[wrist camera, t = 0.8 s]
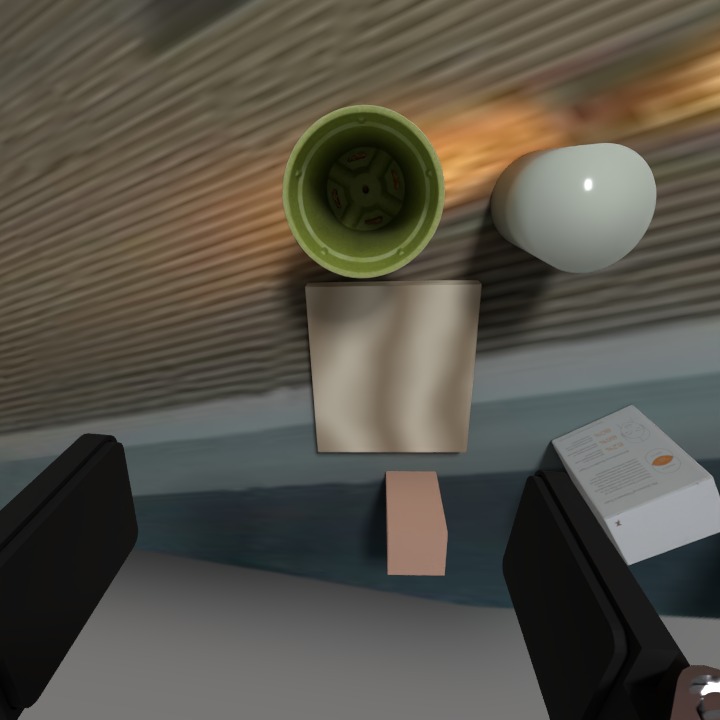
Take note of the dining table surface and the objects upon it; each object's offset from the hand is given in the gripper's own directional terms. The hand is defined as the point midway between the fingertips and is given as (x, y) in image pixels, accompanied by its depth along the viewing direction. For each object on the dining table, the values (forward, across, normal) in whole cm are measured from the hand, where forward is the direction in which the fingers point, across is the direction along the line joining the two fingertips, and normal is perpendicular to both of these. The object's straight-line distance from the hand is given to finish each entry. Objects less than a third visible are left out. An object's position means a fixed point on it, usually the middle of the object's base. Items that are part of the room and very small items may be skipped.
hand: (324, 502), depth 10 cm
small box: (+27, -24, +15) cm, 40 cm away
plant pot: (+28, 0, -6) cm, 28 cm away
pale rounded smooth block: (+27, -13, -6) cm, 31 cm away
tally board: (+27, -4, +9) cm, 29 cm away
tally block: (+27, -7, +23) cm, 36 cm away
